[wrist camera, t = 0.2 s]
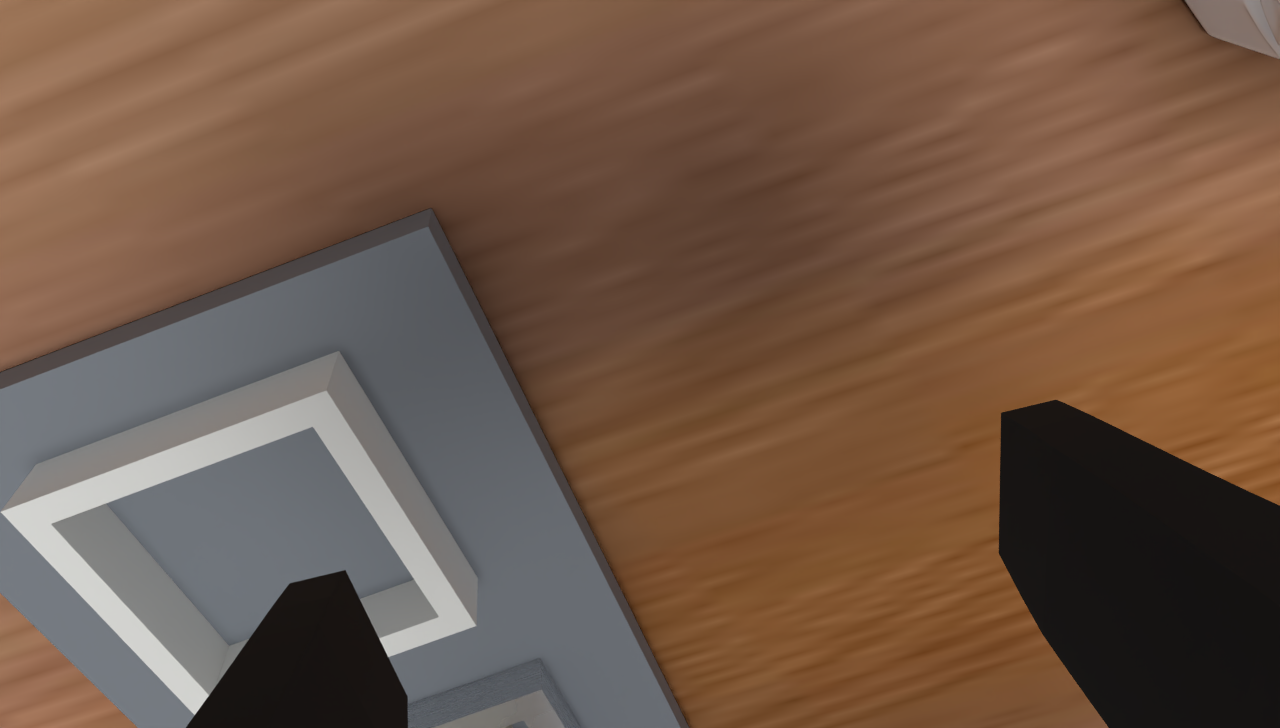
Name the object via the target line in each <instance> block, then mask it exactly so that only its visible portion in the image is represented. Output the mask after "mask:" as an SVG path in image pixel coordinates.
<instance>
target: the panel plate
mask: <svg viewBox="0 0 1280 728" xmlns="http://www.w3.org/2000/svg"><path fill="white" fill-rule="evenodd" d="M337 351H340V353H341V355H342V356H343V358H344V360H345V361H346V363H347V365H348V366H349V368H350V369H351V371H352V373H353V374H354V376H355V378H356V379H357V381H358V383H359V384H360V386H361V387H362V389H363V391H364V392H365V394H366V396H367V397H368V399H369V401H370V402H371V404H372V406H373V407H374V409H375V410H376V412H377V414H378V415H379V417H380V419H381V420H382V422H383V424H384V425H385V427H386V428H387V430H388V432H389V433H390V435H391V437H392V438H393V440H394V442H395V443H396V445H397V446H398V448H399V450H400V451H401V453H402V455H403V456H404V458H405V460H406V461H407V463H408V465H409V466H410V468H411V469H412V471H413V473H414V474H415V476H416V478H417V479H418V481H419V483H420V484H421V486H422V487H423V489H424V491H425V492H426V494H427V496H428V497H429V499H430V501H431V502H432V504H433V505H434V507H435V509H436V510H437V512H438V514H439V515H440V517H441V519H442V520H443V522H444V524H445V525H446V527H447V528H448V530H449V532H450V533H451V535H452V537H453V538H454V540H455V542H456V543H457V545H458V546H459V548H460V550H461V551H462V553H463V555H464V556H465V558H466V560H467V561H468V563H469V564H470V566H471V568H472V569H473V571H474V573H475V574H476V576H477V578H478V590H477V623H476V626H475V627H472V628H469V629H466V630H463V631H461V632H458V633H455V634H452V635H449V636H447V637H444V638H441V639H438V640H435V641H432V642H430V643H427V644H424V645H421V646H418V647H415V648H413V649H410V650H407V651H404V652H401V653H399V654H396V655H393V656H390V657H388V658H389V660H390V662H391V664H392V666H393V668H394V670H395V672H396V674H397V676H398V678H399V680H400V682H401V684H402V686H403V688H404V690H405V692H406V694H407V696H408V704H410V703H413V702H416V701H418V700H421V699H424V698H427V697H430V696H433V695H435V694H438V693H441V692H444V691H447V690H450V689H453V688H455V687H458V686H461V685H464V684H467V683H470V682H473V681H475V680H478V679H481V678H484V677H487V676H490V675H492V674H495V673H498V672H501V671H504V670H507V669H510V668H512V667H515V666H518V665H521V664H524V663H527V662H529V661H532V660H535V659H538V658H540V659H541V660H542V662H543V664H544V665H545V667H546V669H547V670H548V672H549V674H550V675H551V677H552V679H553V680H554V682H555V684H556V685H557V687H558V689H559V690H560V692H561V694H562V696H563V697H564V699H565V701H566V702H567V704H568V706H569V707H570V709H571V711H572V712H573V714H574V716H575V717H576V719H577V721H578V722H579V724H580V726H581V727H582V728H689V726H688V724H687V722H686V720H685V718H684V716H683V714H682V712H681V710H680V708H679V706H678V704H677V702H676V700H675V698H674V696H673V694H672V692H671V690H670V688H669V686H668V684H667V682H666V680H665V678H664V676H663V674H662V672H661V670H660V668H659V666H658V664H657V662H656V660H655V658H654V656H653V654H652V652H651V650H650V648H649V646H648V644H647V642H646V640H645V637H644V635H643V633H642V631H641V629H640V627H639V625H638V623H637V621H636V619H635V617H634V615H633V613H632V611H631V609H630V607H629V605H628V603H627V601H626V599H625V597H624V595H623V593H622V591H621V589H620V587H619V585H618V583H617V581H616V579H615V577H614V575H613V573H612V571H611V569H610V567H609V565H608V563H607V561H606V559H605V557H604V555H603V553H602V551H601V549H600V547H599V545H598V543H597V541H596V539H595V537H594V535H593V533H592V531H591V529H590V527H589V525H588V523H587V521H586V518H585V516H584V514H583V512H582V510H581V508H580V506H579V504H578V502H577V500H576V498H575V496H574V494H573V492H572V490H571V488H570V486H569V484H568V482H567V480H566V478H565V476H564V474H563V472H562V470H561V468H560V466H559V464H558V462H557V460H556V458H555V456H554V454H553V452H552V450H551V448H550V446H549V444H548V442H547V440H546V438H545V436H544V434H543V432H542V430H541V428H540V426H539V424H538V422H537V420H536V418H535V416H534V414H533V412H532V410H531V408H530V406H529V404H528V401H527V399H526V397H525V395H524V393H523V391H522V389H521V387H520V385H519V383H518V381H517V379H516V377H515V375H514V373H513V371H512V369H511V367H510V365H509V363H508V361H507V359H506V357H505V355H504V353H503V351H502V349H501V347H500V345H499V343H498V341H497V339H496V337H495V335H494V333H493V331H492V329H491V327H490V325H489V323H488V321H487V319H486V317H485V315H484V313H483V311H482V309H481V307H480V305H479V303H478V301H477V299H476V297H475V295H474V293H473V291H472V289H471V287H470V285H469V282H468V280H467V278H466V276H465V274H464V272H463V270H462V268H461V266H460V264H459V262H458V260H457V258H456V256H455V254H454V252H453V250H452V248H451V246H450V244H449V242H448V240H447V238H446V236H445V234H444V232H443V230H442V228H441V226H440V224H439V222H438V220H437V218H436V216H435V214H434V212H433V210H432V208H430V209H427V210H425V211H422V212H419V213H417V214H414V215H411V216H409V217H406V218H404V219H401V220H398V221H396V222H393V223H391V224H388V225H385V226H383V227H380V228H377V229H375V230H372V231H370V232H367V233H364V234H362V235H359V236H357V237H354V238H351V239H349V240H346V241H343V242H341V243H338V244H336V245H333V246H330V247H328V248H325V249H322V250H320V251H317V252H315V253H312V254H309V255H307V256H304V257H302V258H299V259H296V260H294V261H291V262H288V263H286V264H283V265H281V266H278V267H275V268H273V269H270V270H267V271H265V272H262V273H260V274H257V275H254V276H252V277H249V278H247V279H244V280H241V281H239V282H236V283H233V284H231V285H228V286H226V287H223V288H220V289H218V290H215V291H212V292H210V293H207V294H205V295H202V296H199V297H197V298H194V299H192V300H189V301H186V302H184V303H181V304H178V305H176V306H173V307H171V308H168V309H165V310H163V311H160V312H157V313H155V314H152V315H150V316H147V317H144V318H142V319H139V320H137V321H134V322H131V323H129V324H126V325H123V326H121V327H118V328H116V329H113V330H110V331H108V332H105V333H102V334H100V335H97V336H95V337H92V338H89V339H87V340H84V341H82V342H79V343H76V344H74V345H71V346H68V347H66V348H63V349H61V350H58V351H55V352H53V353H50V354H47V355H45V356H42V357H40V358H37V359H34V360H32V361H29V362H27V363H24V364H21V365H19V366H16V367H13V368H11V369H8V370H6V371H3V372H0V593H1V594H2V595H3V596H4V597H5V598H6V599H7V600H8V601H9V602H10V603H11V604H12V605H13V606H14V607H15V608H16V609H17V610H18V611H19V612H20V613H21V614H22V615H23V616H24V617H25V618H27V619H28V620H29V621H30V622H31V623H32V624H33V625H34V626H35V627H36V628H37V629H38V630H39V631H40V632H41V633H42V634H43V635H44V636H45V637H46V638H47V639H48V640H49V641H50V642H51V643H52V644H53V645H54V646H55V647H56V648H57V649H58V650H59V651H60V652H61V653H62V654H63V655H64V656H65V657H66V658H67V659H68V660H69V661H70V662H71V663H72V664H73V665H74V666H76V667H77V668H78V669H79V670H80V671H81V672H82V673H83V674H84V675H85V676H86V677H87V678H88V679H89V680H90V681H91V682H92V683H93V684H94V685H95V686H96V687H97V688H98V689H99V690H100V691H101V692H102V693H103V694H104V695H105V696H106V697H107V698H108V699H109V700H110V701H111V702H112V703H113V704H114V705H115V706H116V707H117V708H118V709H119V710H120V711H121V712H122V713H123V714H125V715H126V716H127V717H128V718H129V719H130V720H131V721H132V722H133V723H134V724H135V725H136V726H137V727H138V728H186V726H187V725H188V724H189V722H190V721H191V720H192V718H193V717H194V714H193V713H192V712H191V711H190V710H189V709H188V708H187V707H186V706H185V705H184V704H183V703H182V701H181V700H180V699H179V698H178V697H177V696H176V695H175V694H174V693H173V692H172V691H171V690H170V689H169V688H168V687H167V686H166V685H165V684H164V683H163V682H162V681H161V679H160V678H159V677H158V676H157V675H156V674H155V673H154V672H153V671H152V670H151V669H150V668H149V667H148V666H147V665H146V664H145V663H144V662H143V661H142V660H141V659H140V657H139V656H138V655H137V654H136V653H135V652H134V651H133V650H132V649H131V648H130V647H129V646H128V645H127V644H126V643H125V642H124V641H123V640H122V639H121V638H120V637H119V636H118V634H117V633H116V632H115V631H114V630H113V629H112V628H111V627H110V626H109V625H108V624H107V623H106V622H105V621H104V620H103V619H102V618H101V617H100V616H99V615H98V614H97V612H96V611H95V610H94V609H93V608H92V607H91V606H90V605H89V604H88V603H87V602H86V601H85V600H84V599H83V598H82V597H81V596H80V595H79V594H78V593H77V592H76V591H75V589H74V588H73V587H72V586H71V585H70V584H69V583H68V582H67V581H66V580H65V579H64V578H63V577H62V576H61V575H60V574H59V573H58V572H57V571H56V570H55V569H54V567H53V566H52V565H51V564H50V563H49V562H48V561H47V560H46V559H45V558H44V557H43V556H42V555H41V554H40V553H39V552H38V551H37V550H36V549H35V548H34V547H33V545H32V544H31V543H30V542H29V541H28V540H27V539H26V538H25V537H24V536H23V535H22V534H21V533H20V532H19V531H18V530H17V529H16V528H15V527H14V526H13V525H12V524H11V522H10V521H9V520H8V519H7V518H6V517H5V516H4V515H3V514H2V513H1V510H2V509H3V508H4V506H5V505H6V504H7V502H8V501H9V500H10V498H11V497H12V496H13V494H14V493H15V492H16V490H17V489H18V488H19V486H20V485H21V484H22V482H23V481H24V480H25V478H26V477H27V476H28V474H29V473H30V472H31V470H32V469H33V468H34V466H35V465H36V464H38V463H41V462H44V461H46V460H49V459H52V458H54V457H57V456H60V455H62V454H65V453H68V452H70V451H73V450H76V449H78V448H81V447H84V446H86V445H89V444H92V443H94V442H97V441H100V440H102V439H105V438H108V437H110V436H113V435H116V434H118V433H121V432H124V431H126V430H129V429H132V428H134V427H137V426H140V425H142V424H145V423H148V422H150V421H153V420H156V419H158V418H161V417H164V416H166V415H169V414H172V413H174V412H177V411H180V410H182V409H185V408H188V407H190V406H193V405H196V404H198V403H201V402H204V401H206V400H209V399H212V398H214V397H217V396H220V395H222V394H225V393H228V392H230V391H233V390H236V389H238V388H241V387H244V386H246V385H249V384H252V383H254V382H257V381H260V380H262V379H265V378H268V377H270V376H273V375H276V374H278V373H281V372H284V371H286V370H289V369H292V368H294V367H297V366H300V365H302V364H305V363H308V362H310V361H313V360H316V359H318V358H321V357H324V356H326V355H329V354H332V353H334V352H337ZM106 504H107V505H108V507H109V508H110V509H111V510H112V511H113V512H114V514H115V515H116V516H117V517H118V518H119V519H120V520H121V522H122V523H123V524H124V525H125V526H126V527H127V529H128V530H129V531H130V532H131V533H132V534H133V535H134V537H135V538H136V539H137V540H138V541H139V542H140V544H141V545H142V546H143V547H144V548H145V549H146V550H147V552H148V553H149V554H150V555H151V556H152V557H153V559H154V560H155V561H156V562H157V563H158V564H159V566H160V567H161V568H162V569H163V570H164V571H165V572H166V574H167V575H168V576H169V577H170V578H171V579H172V581H173V582H174V583H175V584H176V585H177V586H178V587H179V589H180V590H181V591H182V592H183V593H184V594H185V596H186V597H187V598H188V599H189V600H190V601H191V602H192V604H193V605H194V606H195V607H196V608H197V609H198V611H199V612H200V613H201V614H202V615H203V616H204V617H205V619H206V620H207V621H208V622H209V623H210V624H211V626H212V627H213V628H214V629H215V630H216V631H217V632H218V634H219V635H220V636H221V637H222V638H223V639H224V641H225V642H226V643H227V644H228V645H229V646H230V645H233V644H236V643H239V642H241V641H244V640H247V639H249V638H250V637H251V636H252V634H253V633H254V631H255V630H256V628H257V627H258V626H259V624H260V623H261V621H262V620H263V619H264V617H265V616H266V614H267V613H268V612H269V610H270V609H271V607H272V606H273V605H274V603H275V602H276V601H277V599H278V598H279V597H280V595H281V594H282V593H283V591H284V590H285V589H286V587H287V586H288V585H289V583H293V582H297V581H301V580H306V579H310V578H314V577H318V576H322V575H327V574H331V573H335V572H339V571H343V570H346V572H347V574H348V576H349V578H350V580H351V582H352V584H353V586H354V588H355V590H356V592H357V595H358V597H359V599H361V598H364V597H367V596H370V595H372V594H375V593H378V592H381V591H384V590H386V589H389V588H392V587H395V586H398V585H400V584H403V583H406V582H409V581H411V580H414V578H413V577H412V575H411V574H410V572H409V571H408V569H407V568H406V566H405V565H404V563H403V562H402V560H401V559H400V557H399V556H398V554H397V553H396V551H395V550H394V548H393V547H392V545H391V544H390V542H389V541H388V539H387V538H386V536H385V535H384V533H383V532H382V530H381V529H380V527H379V526H378V524H377V523H376V521H375V520H374V518H373V516H372V515H371V513H370V512H369V510H368V509H367V507H366V506H365V504H364V503H363V501H362V500H361V498H360V497H359V495H358V494H357V492H356V491H355V489H354V488H353V486H352V485H351V483H350V482H349V480H348V479H347V477H346V476H345V474H344V473H343V471H342V470H341V468H340V467H339V465H338V464H337V462H336V461H335V459H334V458H333V456H332V455H331V453H330V452H329V450H328V449H327V447H326V446H325V444H324V443H323V441H322V440H321V438H320V437H319V435H318V434H317V432H316V431H315V429H314V428H313V427H311V428H308V429H305V430H303V431H300V432H297V433H295V434H292V435H289V436H286V437H284V438H281V439H278V440H276V441H273V442H270V443H268V444H265V445H262V446H260V447H257V448H254V449H251V450H249V451H246V452H243V453H241V454H238V455H235V456H233V457H230V458H227V459H224V460H222V461H219V462H216V463H214V464H211V465H208V466H206V467H203V468H200V469H197V470H195V471H192V472H189V473H187V474H184V475H181V476H179V477H176V478H173V479H171V480H168V481H165V482H162V483H160V484H157V485H154V486H152V487H149V488H146V489H144V490H141V491H138V492H135V493H133V494H130V495H127V496H125V497H122V498H119V499H117V500H114V501H111V502H109V503H106ZM512 726H513V728H528V726H527V725H526V723H525V722H524V720H523V721H520V722H517V723H514V724H512Z"/></svg>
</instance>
